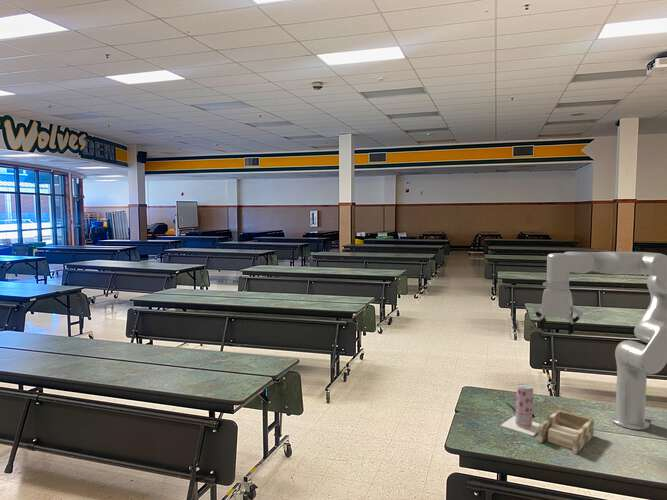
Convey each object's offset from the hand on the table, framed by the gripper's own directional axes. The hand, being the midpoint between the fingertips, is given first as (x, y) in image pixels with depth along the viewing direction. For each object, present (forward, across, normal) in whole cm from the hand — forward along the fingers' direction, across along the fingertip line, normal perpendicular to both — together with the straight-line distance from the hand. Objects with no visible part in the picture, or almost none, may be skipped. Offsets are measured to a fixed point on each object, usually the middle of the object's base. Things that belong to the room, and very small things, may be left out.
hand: (556, 331), depth 176 cm
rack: (+36, +7, -10) cm, 38 cm away
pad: (+35, -8, -10) cm, 38 cm away
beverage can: (+35, -8, -10) cm, 37 cm away
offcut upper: (+34, +7, -13) cm, 37 cm away
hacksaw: (+36, -20, +7) cm, 42 cm away
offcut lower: (+36, +7, -13) cm, 39 cm away
